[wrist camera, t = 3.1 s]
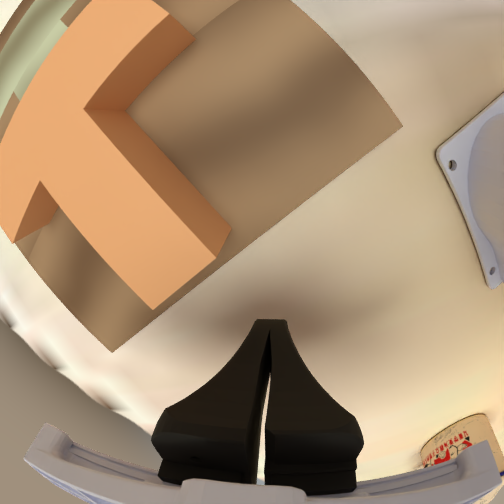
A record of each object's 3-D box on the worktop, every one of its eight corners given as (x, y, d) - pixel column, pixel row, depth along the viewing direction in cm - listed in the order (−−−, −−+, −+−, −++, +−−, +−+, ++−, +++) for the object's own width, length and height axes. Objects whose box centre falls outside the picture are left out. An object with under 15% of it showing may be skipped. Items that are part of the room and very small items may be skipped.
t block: (313, 162, 10) (325, 172, 8) (130, 315, 14) (105, 350, 12) (148, 1, 8) (116, -25, 5) (19, 181, 12) (-18, 195, 9)
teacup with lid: (457, 412, 18) (489, 510, 7) (500, 409, 18) (530, 484, 7) (387, 469, 23) (397, 549, 12) (437, 464, 23) (451, 531, 12)
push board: (392, 126, 10) (402, 126, 9) (119, 341, 17) (112, 353, 16) (122, -83, 5) (114, -90, 4) (-34, 131, 12) (-44, 134, 11)
